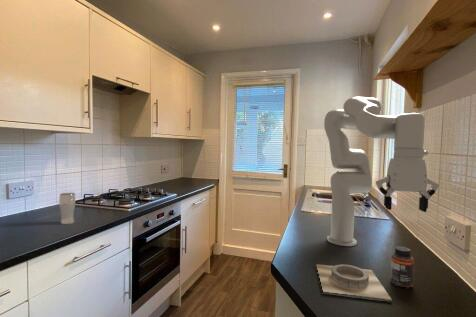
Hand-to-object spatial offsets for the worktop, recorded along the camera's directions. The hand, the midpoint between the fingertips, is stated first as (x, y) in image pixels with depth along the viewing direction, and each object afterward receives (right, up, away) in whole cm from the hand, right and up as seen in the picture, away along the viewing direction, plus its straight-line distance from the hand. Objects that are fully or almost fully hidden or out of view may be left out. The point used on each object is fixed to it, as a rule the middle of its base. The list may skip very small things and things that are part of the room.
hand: (405, 209), depth 83 cm
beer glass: (-140, -18, +56) cm, 152 cm away
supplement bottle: (-1, -24, +1) cm, 24 cm away
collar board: (-17, -23, +1) cm, 28 cm away
